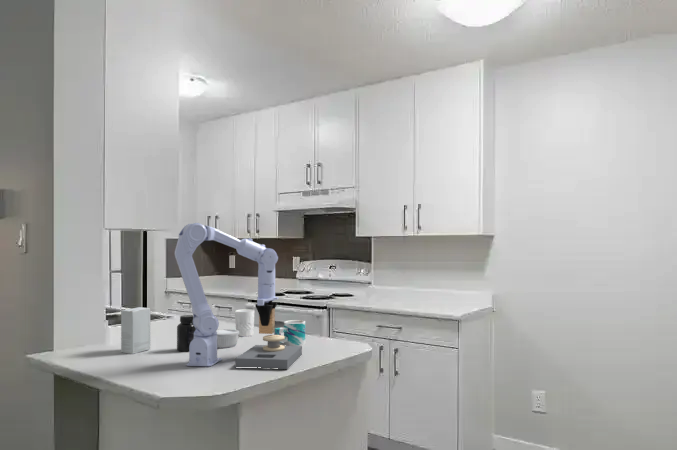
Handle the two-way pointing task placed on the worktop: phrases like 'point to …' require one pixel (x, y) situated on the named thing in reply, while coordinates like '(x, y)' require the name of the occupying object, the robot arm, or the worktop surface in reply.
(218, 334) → the ramekin
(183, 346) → the supplement bottle
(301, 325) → the mug
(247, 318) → the white cup
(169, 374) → the worktop surface
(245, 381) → the worktop surface
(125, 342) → the skincare box
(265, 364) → the notched board
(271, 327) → the wooden block
